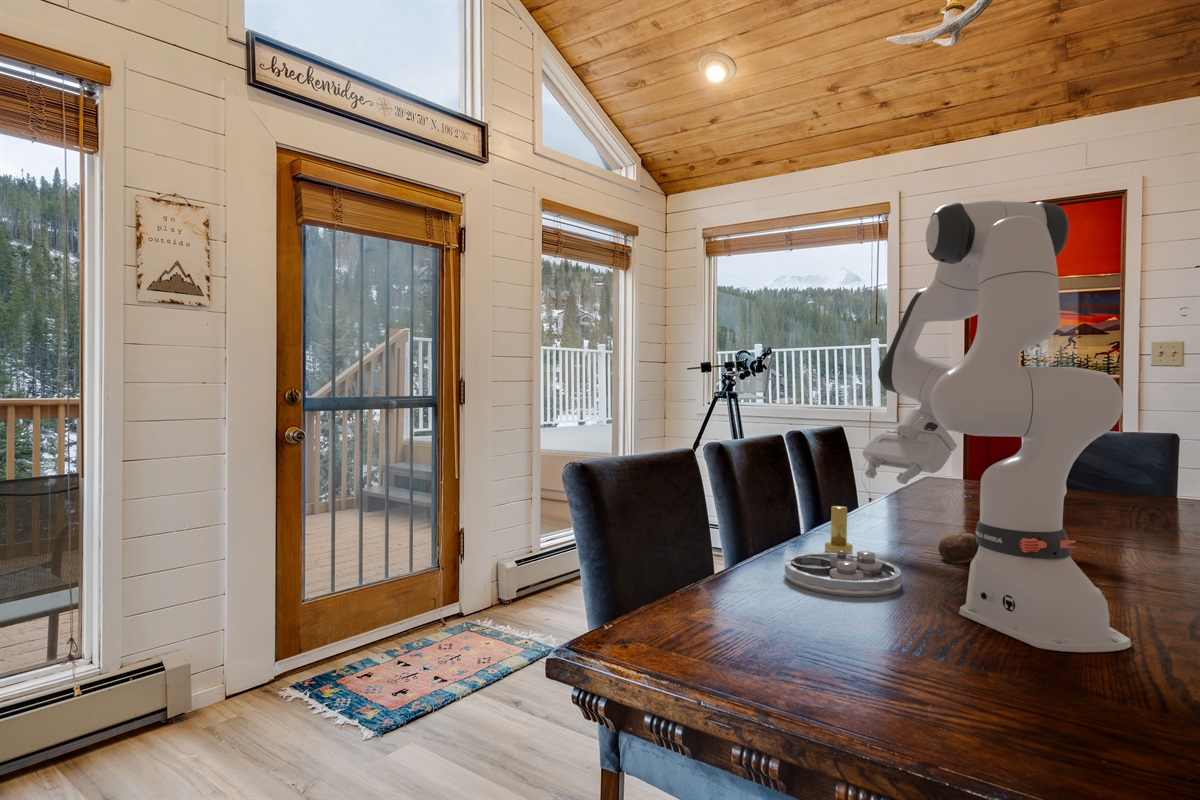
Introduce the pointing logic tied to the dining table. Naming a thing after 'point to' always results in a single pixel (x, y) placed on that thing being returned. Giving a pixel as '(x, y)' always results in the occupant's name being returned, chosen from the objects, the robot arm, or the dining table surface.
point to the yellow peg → (838, 531)
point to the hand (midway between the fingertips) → (884, 479)
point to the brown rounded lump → (958, 547)
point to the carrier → (843, 574)
